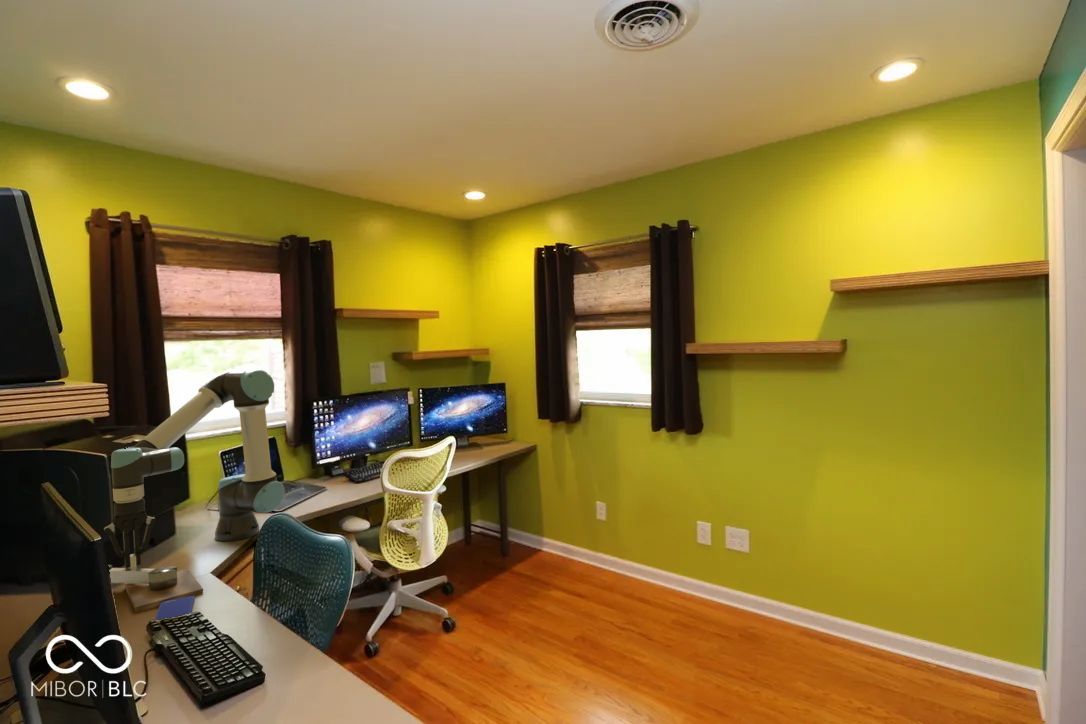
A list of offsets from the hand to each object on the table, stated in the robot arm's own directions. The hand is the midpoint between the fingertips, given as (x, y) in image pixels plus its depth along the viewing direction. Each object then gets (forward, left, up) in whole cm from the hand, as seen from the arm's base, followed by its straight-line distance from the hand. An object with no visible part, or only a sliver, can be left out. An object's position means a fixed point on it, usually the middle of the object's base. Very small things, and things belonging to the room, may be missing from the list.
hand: (133, 576), depth 166 cm
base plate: (-6, +11, -3) cm, 13 cm away
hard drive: (-6, +29, -4) cm, 30 cm away
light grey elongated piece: (-1, +5, -1) cm, 5 cm away
